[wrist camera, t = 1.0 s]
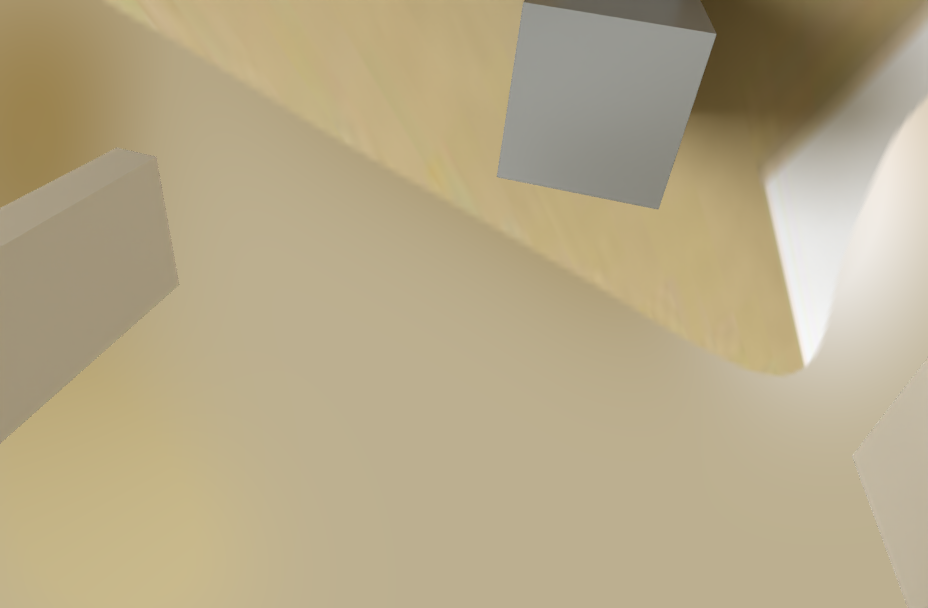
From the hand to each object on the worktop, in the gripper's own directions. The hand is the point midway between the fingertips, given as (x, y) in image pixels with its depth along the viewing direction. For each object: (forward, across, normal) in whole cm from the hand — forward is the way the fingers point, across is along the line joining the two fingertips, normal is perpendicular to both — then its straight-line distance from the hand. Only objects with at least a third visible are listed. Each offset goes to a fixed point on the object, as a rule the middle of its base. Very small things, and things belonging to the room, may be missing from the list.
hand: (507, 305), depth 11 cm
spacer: (+19, +1, +3) cm, 19 cm away
